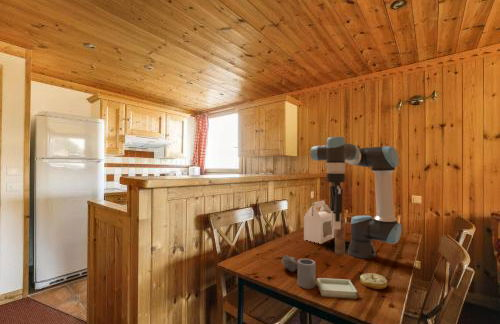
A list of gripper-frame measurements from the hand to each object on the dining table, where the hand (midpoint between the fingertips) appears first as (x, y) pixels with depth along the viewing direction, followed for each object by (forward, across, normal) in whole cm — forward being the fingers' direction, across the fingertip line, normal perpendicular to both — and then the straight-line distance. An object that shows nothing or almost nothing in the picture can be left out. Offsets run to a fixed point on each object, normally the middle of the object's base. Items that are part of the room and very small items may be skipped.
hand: (335, 227), depth 104 cm
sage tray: (+27, 0, 0) cm, 27 cm away
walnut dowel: (+11, 0, +1) cm, 11 cm away
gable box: (+27, -78, +6) cm, 83 cm away
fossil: (+27, -18, -18) cm, 37 cm away
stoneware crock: (+27, -4, -12) cm, 29 cm away
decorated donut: (+27, -8, +18) cm, 33 cm away
